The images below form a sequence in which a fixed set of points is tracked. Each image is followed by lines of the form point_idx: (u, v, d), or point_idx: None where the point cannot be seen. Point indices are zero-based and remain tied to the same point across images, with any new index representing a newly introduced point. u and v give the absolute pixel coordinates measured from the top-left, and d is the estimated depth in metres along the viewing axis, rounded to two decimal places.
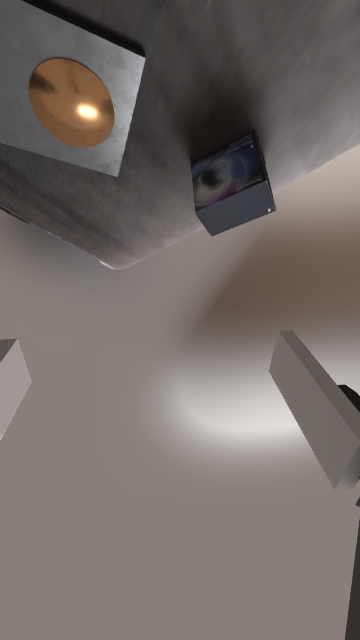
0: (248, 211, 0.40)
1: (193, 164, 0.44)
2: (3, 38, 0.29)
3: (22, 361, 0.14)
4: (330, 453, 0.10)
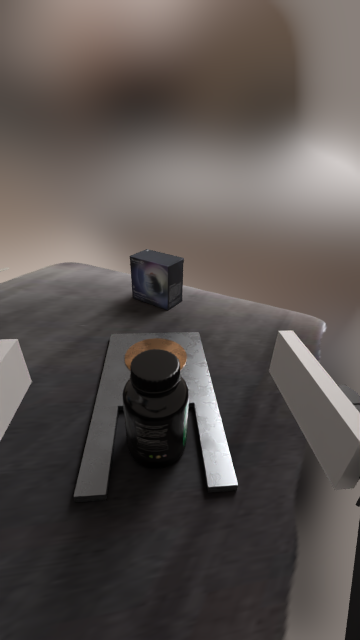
0: (152, 254, 0.61)
1: (165, 307, 0.61)
2: None
3: (22, 361, 0.14)
4: (330, 453, 0.10)
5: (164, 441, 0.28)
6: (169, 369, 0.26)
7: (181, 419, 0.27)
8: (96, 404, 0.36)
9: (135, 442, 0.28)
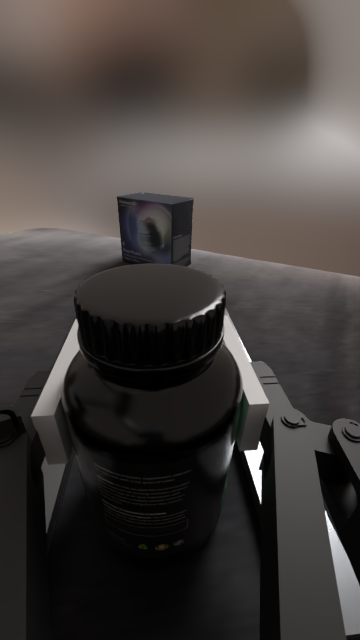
0: (149, 195, 0.44)
1: None
2: None
3: None
4: None
5: (178, 513, 0.10)
6: (196, 298, 0.08)
7: (226, 450, 0.10)
8: None
9: (99, 510, 0.11)
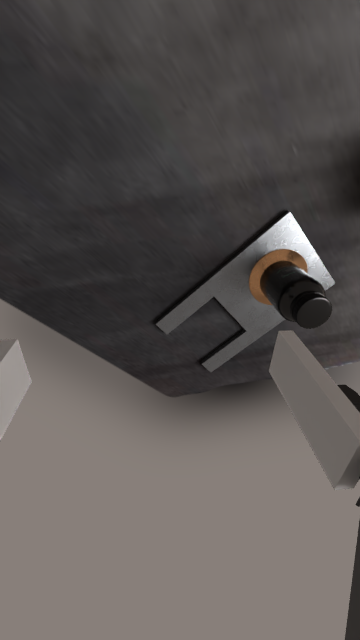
0: None
1: None
2: (229, 287, 0.47)
3: (22, 361, 0.14)
4: (330, 453, 0.10)
5: None
6: (312, 324, 0.37)
7: None
8: (205, 284, 0.46)
9: (267, 289, 0.43)
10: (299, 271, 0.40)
